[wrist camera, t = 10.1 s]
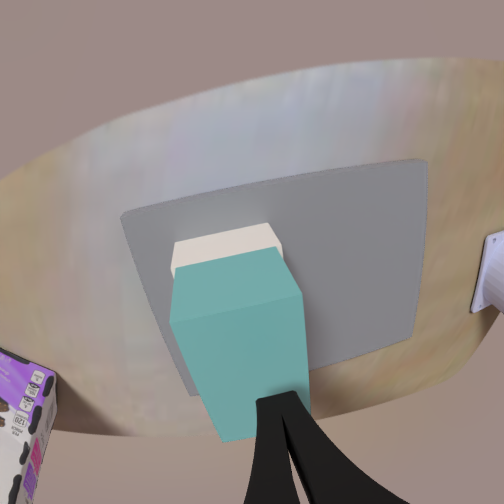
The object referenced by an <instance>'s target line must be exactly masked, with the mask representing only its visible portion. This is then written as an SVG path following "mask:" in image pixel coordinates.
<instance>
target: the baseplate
mask: <svg viewBox="0 0 504 504" xmlns="http://www.w3.org/2000/svg"><path fill="white" fill-rule="evenodd" d="M427 193H428V162H427V161H424V160H421V159H411V160H402V161H393V162H385V163H377V164H369V165H361V166H354V167H347V168H340V169H333V170H326V171H320V172H314V173H307V174H301V175H295V176H290V177H284V178H278V179H273V180H267V181H262V182H257V183H251V184H246V185H241V186H236V187H231V188H226V189H221V190H217V191H212V192H207V193H203V194H198V195H194V196H189V197H185V198H180V199H176V200H172V201H168V202H163V203H159V204H155V205H151V206H147V207H143V208H139V209H135V210H131V211H127V212H124V213H123V215H122V216H121V217H120V219H121V223H122V226H123V229H124V232H125V235H126V239H127V242H128V245H129V248H130V251H131V254H132V257H133V260H134V263H135V265H136V268H137V271H138V274H139V277H140V279H141V282H142V285H143V288H144V290H145V293H146V296H147V298H148V301H149V303H150V306H151V309H152V311H153V314H154V316H155V319H156V321H157V324H158V326H159V328H160V331H161V333H162V336H163V338H164V340H165V343H166V345H167V347H168V350H169V352H170V354H171V356H172V359H173V361H174V363H175V365H176V368H177V370H178V372H179V374H180V376H181V378H182V380H183V383H184V385H185V387H186V389H187V391H188V393H189V395H190V396H196V395H199V392H198V390H197V388H196V386H195V383H194V381H193V379H192V377H191V374H190V372H189V370H188V367H187V365H186V363H185V360H184V358H183V356H182V353H181V351H180V348H179V346H178V344H177V341H176V339H175V336H174V334H173V331H172V328H171V326H170V323H169V321H170V311H171V302H172V293H173V284H174V276H175V268H177V267H181V266H186V265H191V264H195V263H200V262H205V261H209V260H214V259H218V258H223V257H228V256H232V255H237V254H242V253H246V252H251V251H255V250H260V249H265V248H269V247H274V246H276V248H277V249H278V251H279V253H280V255H281V256H282V258H283V260H284V262H285V264H286V265H287V267H288V269H289V271H290V273H291V274H292V276H293V278H294V280H295V282H296V283H297V285H298V287H299V289H300V291H301V292H302V296H303V307H304V319H305V331H306V344H307V358H308V371H310V370H314V369H317V368H321V367H324V366H328V365H331V364H335V363H338V362H341V361H344V360H347V359H351V358H354V357H357V356H360V355H363V354H366V353H369V352H372V351H375V350H377V349H380V348H383V347H386V346H389V345H391V344H394V343H397V342H399V341H402V340H405V339H407V338H410V337H412V333H413V328H414V322H415V316H416V311H417V304H418V298H419V291H420V284H421V276H422V268H423V258H424V248H425V235H426V220H427Z"/></svg>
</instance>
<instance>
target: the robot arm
mask: <svg viewBox="0 0 504 504" xmlns="http://www.w3.org/2000/svg"><path fill="white" fill-rule="evenodd" d="M491 304H493V305H494V306H495V307H496V308H497V309H498V310H499V311H501V312H502V313H503V314H504V231H501V232H498V233H494V234H491V235H489V236H487V238H486V240H485V245H484V251H483V256H482V262H481V267H480V272H479V277H478V281H477V286H476V290H475V294H474V298H473V302H472V306H471V311H472V312H473V313H475V312H477V311H479V310H481V309H483V308H485V307H487V306H489V305H491ZM255 403H256V412H257V429H256V443H255V452H254V459H253V465H252V471H251V476H250V481H249V485H248V489H247V493H246V497H245V500H244V504H300V501H299V498H298V495H297V491H296V488H295V484H294V481H293V476H292V471H291V465H290V459H289V453H290V455H291V458H292V461H293V463H294V466H295V468H296V471H297V473H298V476H299V478H300V481H301V483H302V486H303V488H304V491H305V493H306V495H307V498H308V501H309V503H310V504H409V503H408V502H406V501H404V500H402V499H401V498H399V497H397V496H396V495H394V494H393V493H391V492H390V491H388V490H387V489H385V488H384V487H382V486H381V485H379V484H378V483H377V482H375V481H374V480H373V479H371V478H370V477H369V476H368V475H366V474H365V473H364V472H363V471H362V470H360V469H359V468H358V467H357V466H356V465H355V464H354V463H353V462H351V461H350V460H349V459H348V458H347V457H346V456H345V455H344V454H343V453H342V452H341V451H340V450H339V449H338V448H337V447H336V446H335V445H334V443H333V442H332V441H331V440H330V439H329V438H328V437H327V436H326V434H325V433H324V432H323V431H322V430H321V428H320V427H319V426H318V425H317V424H316V422H315V421H314V419H313V418H312V417H311V415H310V414H309V412H308V411H307V409H306V408H305V406H304V405H303V403H302V402H301V400H300V398H299V396H298V394H297V392H296V391H294V390H292V391H288V392H284V393H280V394H276V395H271V396H267V397H263V398H258V399H257V400H256V401H255ZM288 451H289V453H288Z"/></svg>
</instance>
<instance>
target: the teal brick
mask: <svg viewBox="0 0 504 504" xmlns="http://www.w3.org/2000/svg"><path fill="white" fill-rule="evenodd" d="M169 323H170V326H171V328H172V331H173V334H174V336H175V339H176V341H177V344H178V346H179V348H180V351H181V353H182V356H183V358H184V360H185V363H186V365H187V367H188V370H189V372H190V374H191V377H192V379H193V381H194V383H195V386H196V388H197V390H198V392H199V395H200V397H201V399H202V401H203V403H204V405H205V407H206V410H207V412H208V414H209V416H210V418H211V420H212V422H213V424H214V426H215V428H216V430H217V432H218V434H219V436H220V438H221V440H222V442H229V441H235V440H240V439H246V438H250V437H256V429H257V412H256V403H255V401H256V400H257V399H258V398H263V397H267V396H271V395H276V394H280V393H284V392H288V391H292V390H294V391H296V392H297V394H298V396H299V398H300V400H301V402H302V403H303V405H304V406H305V408H306V409H307V411H308V412H309V414H310V415H311V407H310V389H309V373H308V358H307V344H306V331H305V319H304V307H303V296H302V292H301V291H300V289H299V287H298V285H297V283H296V282H295V280H294V278H293V276H292V274H291V273H290V271H289V269H288V267H287V265H286V264H285V262H284V260H283V258H282V256H281V255H280V253H279V251H278V249H277V248H276V246H274V247H269V248H265V249H260V250H255V251H251V252H246V253H242V254H237V255H232V256H228V257H223V258H218V259H214V260H209V261H205V262H200V263H195V264H191V265H186V266H181V267H177V268H175V276H174V284H173V293H172V302H171V311H170V321H169Z"/></svg>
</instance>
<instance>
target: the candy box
mask: <svg viewBox="0 0 504 504" xmlns="http://www.w3.org/2000/svg"><path fill="white" fill-rule="evenodd" d="M56 391H57V381H56V373H55V372H54V371H51V370H49V369H46V368H44V367H42V366H39V365H37V364H35V363H32V362H29V361H27V360H25V359H22V358H20V357H18V356H16V355H14V354H12V353H10V352H7V351H5V350H3V349H1V348H0V504H33V500H34V495H35V489H36V486H37V481H38V477H39V473H40V469H41V464H42V462H43V457H44V453H45V450H46V446H47V443H48V440H49V436H50V433H51V430H52V427H53V424H54V420H55V417H56V414H57V394H56Z"/></svg>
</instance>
